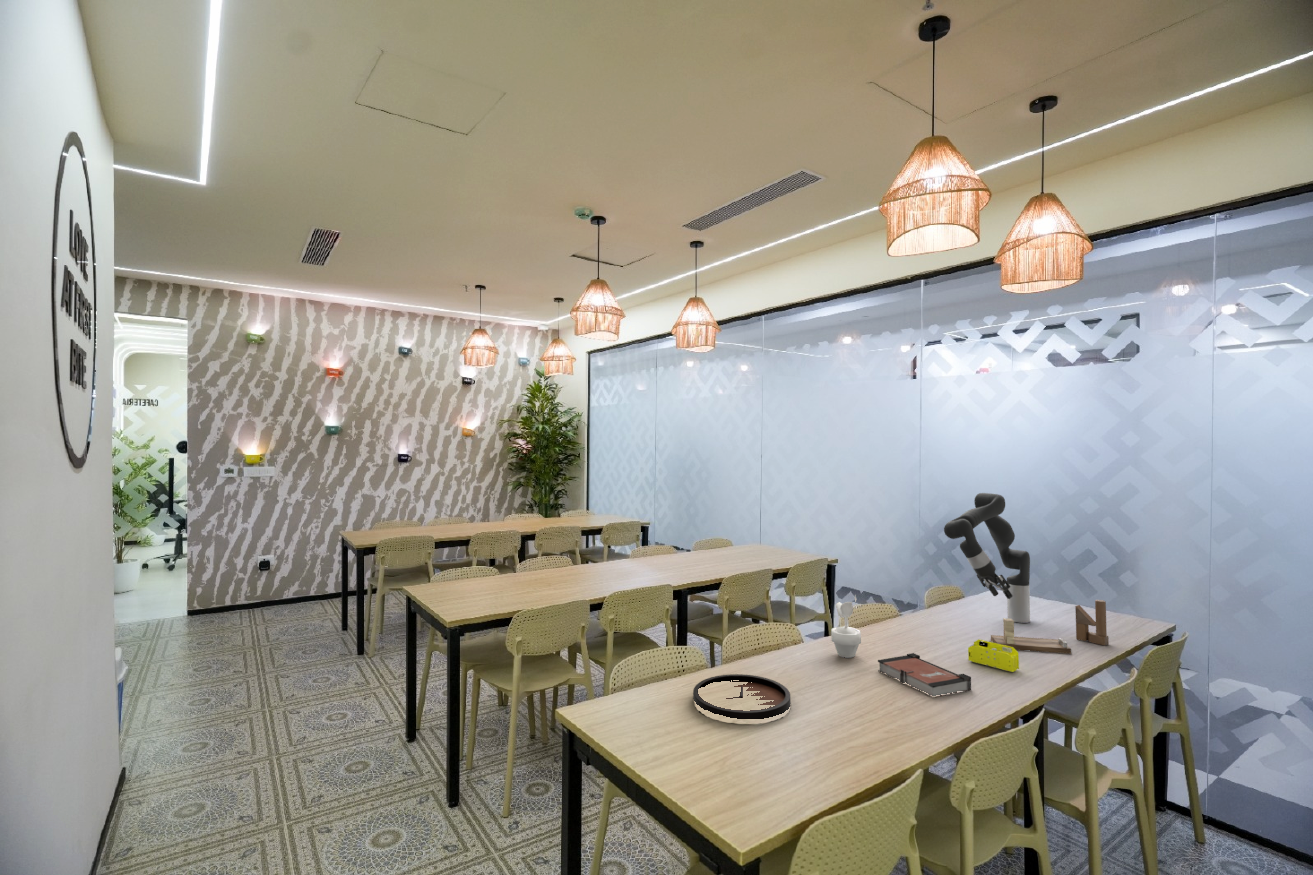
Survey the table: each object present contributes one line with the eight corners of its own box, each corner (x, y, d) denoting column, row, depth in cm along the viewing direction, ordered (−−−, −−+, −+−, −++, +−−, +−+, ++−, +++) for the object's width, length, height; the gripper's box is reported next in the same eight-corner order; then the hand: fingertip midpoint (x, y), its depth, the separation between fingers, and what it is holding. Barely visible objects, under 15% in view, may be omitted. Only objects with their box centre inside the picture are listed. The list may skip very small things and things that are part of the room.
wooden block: (1079, 637, 261) (1078, 595, 261) (1109, 644, 252) (1107, 600, 252) (1075, 639, 259) (1074, 597, 259) (1105, 646, 250) (1104, 602, 250)
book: (876, 672, 225) (876, 659, 225) (913, 666, 231) (913, 653, 231) (931, 699, 200) (931, 684, 200) (971, 691, 206) (970, 676, 207)
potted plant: (865, 660, 236) (864, 596, 237) (835, 660, 236) (834, 596, 237) (855, 649, 249) (854, 588, 249) (827, 650, 249) (826, 588, 250)
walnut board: (990, 639, 260) (990, 630, 260) (1060, 644, 253) (1060, 634, 253) (998, 648, 248) (998, 638, 248) (1071, 653, 241) (1071, 643, 241)
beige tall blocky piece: (1002, 638, 255) (1002, 617, 255) (1010, 639, 254) (1010, 617, 254) (1007, 643, 248) (1006, 621, 249) (1015, 644, 248) (1014, 622, 248)
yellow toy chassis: (1019, 671, 224) (1019, 648, 224) (1013, 674, 221) (1012, 651, 221) (974, 659, 237) (974, 637, 237) (968, 662, 233) (967, 640, 233)
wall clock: (759, 722, 176) (673, 695, 196) (759, 736, 176) (674, 707, 196) (807, 688, 200) (726, 667, 220) (807, 700, 200) (726, 678, 220)
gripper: (999, 558, 243) (1022, 593, 242) (976, 556, 257) (998, 589, 256) (985, 569, 242) (1008, 604, 241) (963, 566, 256) (985, 599, 255)
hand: (1003, 596), depth 248 cm, fingers open, 8 cm apart
